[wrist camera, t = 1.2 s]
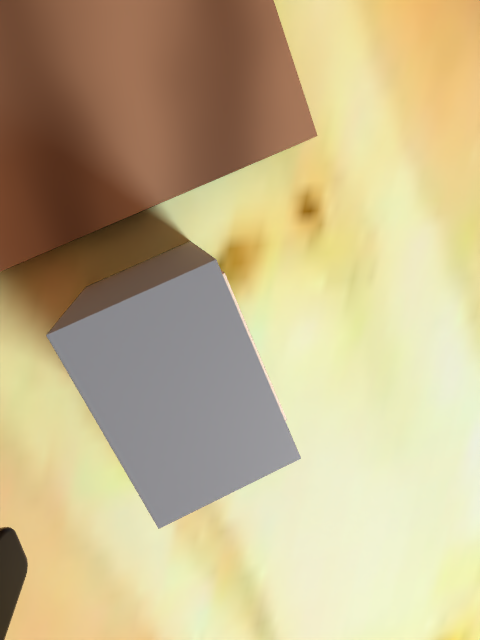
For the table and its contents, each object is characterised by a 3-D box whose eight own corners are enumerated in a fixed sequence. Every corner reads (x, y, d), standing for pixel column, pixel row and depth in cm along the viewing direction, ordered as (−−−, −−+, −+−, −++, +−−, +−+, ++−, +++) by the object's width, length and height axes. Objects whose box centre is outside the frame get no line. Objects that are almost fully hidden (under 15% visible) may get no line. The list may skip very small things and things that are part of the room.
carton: (154, 416, 22) (158, 529, 14) (86, 286, 19) (46, 335, 12) (251, 370, 22) (306, 455, 14) (194, 239, 20) (222, 256, 12)
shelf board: (-133, 328, 18) (-197, 354, 15) (-365, 4, 14) (-518, -58, 11) (305, 141, 20) (337, 127, 16) (194, -190, 16) (206, -294, 13)
